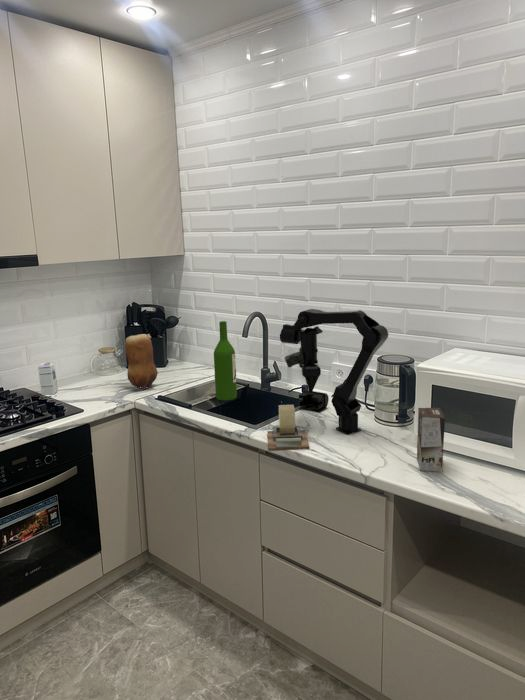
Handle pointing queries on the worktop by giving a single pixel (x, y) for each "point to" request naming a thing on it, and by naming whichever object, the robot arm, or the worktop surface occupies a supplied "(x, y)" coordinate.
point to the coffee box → (430, 439)
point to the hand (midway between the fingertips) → (309, 388)
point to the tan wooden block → (286, 420)
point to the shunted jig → (287, 440)
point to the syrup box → (47, 379)
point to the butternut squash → (140, 361)
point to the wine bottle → (225, 367)
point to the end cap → (313, 401)
